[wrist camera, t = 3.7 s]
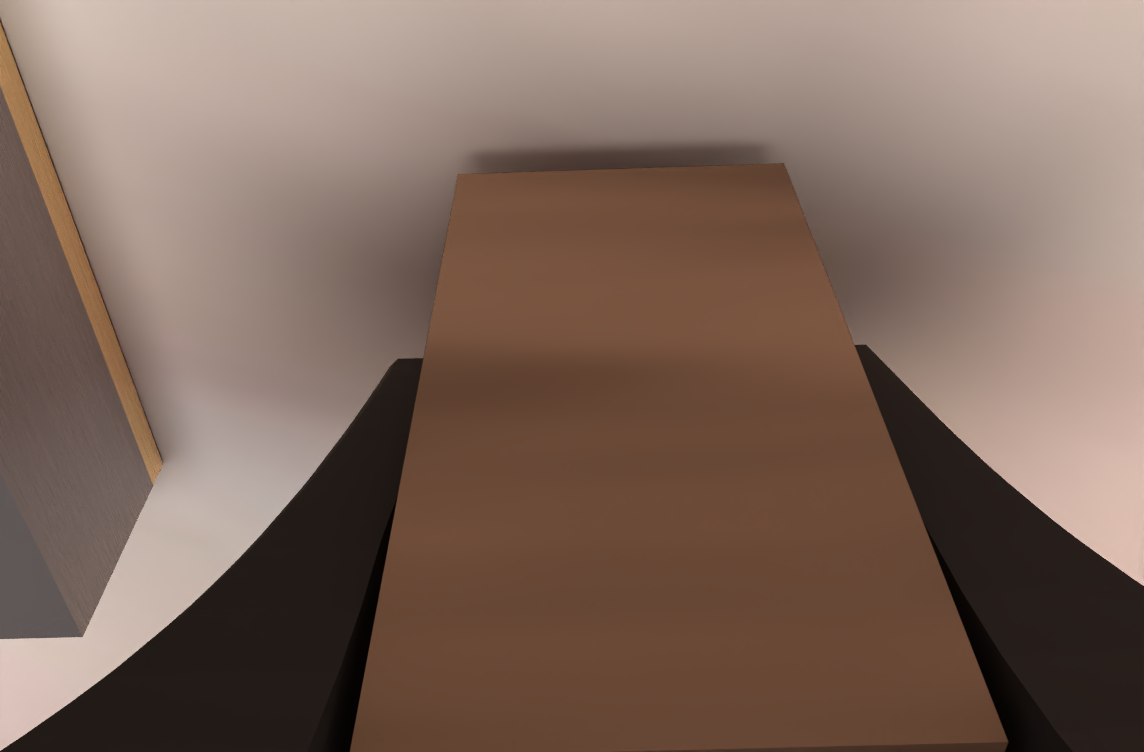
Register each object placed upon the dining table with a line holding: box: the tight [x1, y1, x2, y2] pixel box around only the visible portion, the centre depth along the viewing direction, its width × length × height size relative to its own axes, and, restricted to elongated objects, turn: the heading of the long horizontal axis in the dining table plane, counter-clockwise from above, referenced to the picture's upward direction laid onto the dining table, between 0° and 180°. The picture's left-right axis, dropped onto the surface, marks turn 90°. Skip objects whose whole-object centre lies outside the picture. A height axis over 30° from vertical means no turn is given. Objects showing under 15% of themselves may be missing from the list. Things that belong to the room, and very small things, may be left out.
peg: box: [350, 163, 1008, 752], centre depth 11 cm, size 4×4×8 cm
